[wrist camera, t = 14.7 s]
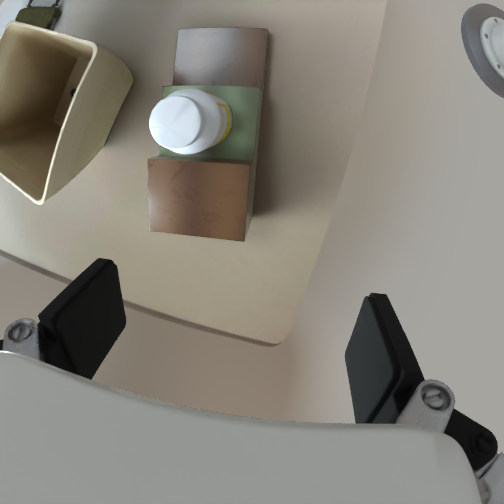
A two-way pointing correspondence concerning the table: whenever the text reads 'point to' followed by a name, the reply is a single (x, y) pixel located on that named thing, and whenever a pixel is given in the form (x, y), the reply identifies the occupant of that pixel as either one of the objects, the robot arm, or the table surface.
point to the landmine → (39, 16)
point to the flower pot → (54, 106)
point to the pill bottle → (190, 121)
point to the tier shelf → (200, 176)
